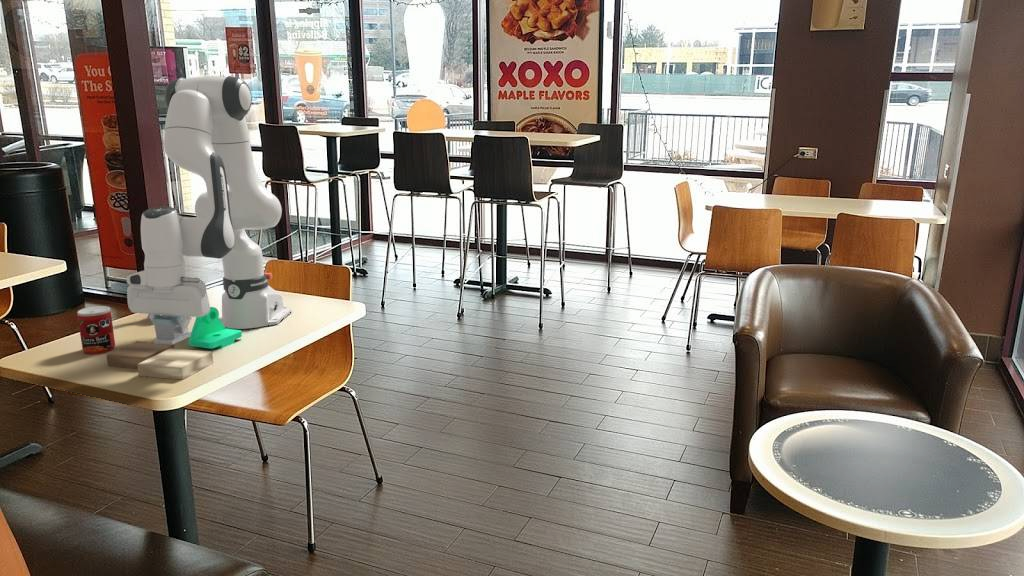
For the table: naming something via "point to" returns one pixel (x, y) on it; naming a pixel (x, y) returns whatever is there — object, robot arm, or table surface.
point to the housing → (168, 329)
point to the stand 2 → (175, 363)
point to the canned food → (96, 329)
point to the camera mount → (212, 332)
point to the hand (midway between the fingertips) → (171, 332)
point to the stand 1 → (135, 353)
